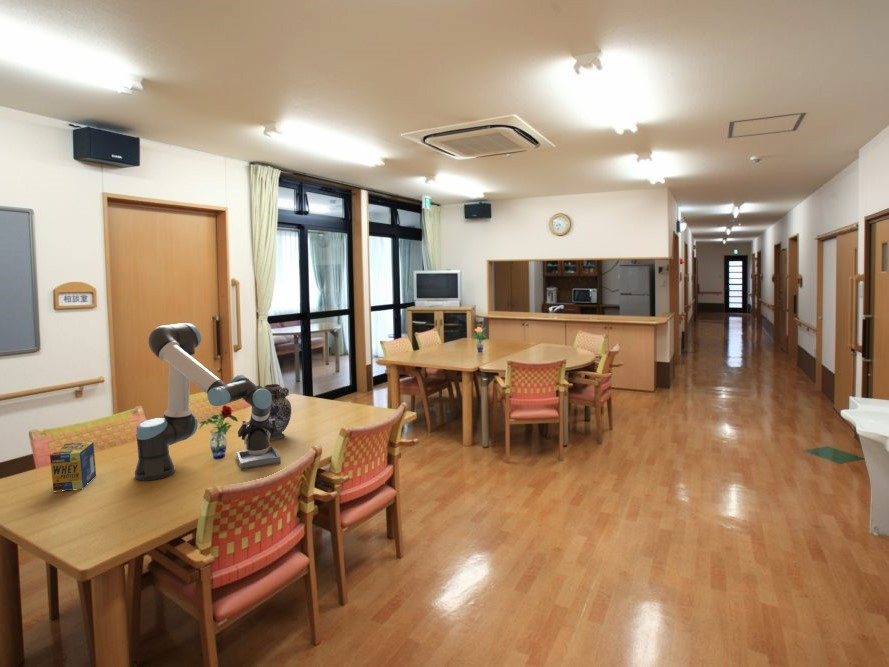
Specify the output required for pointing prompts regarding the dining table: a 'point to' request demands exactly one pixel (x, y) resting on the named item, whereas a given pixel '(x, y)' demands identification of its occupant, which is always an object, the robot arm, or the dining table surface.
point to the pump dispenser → (257, 442)
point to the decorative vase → (278, 409)
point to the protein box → (73, 466)
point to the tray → (258, 459)
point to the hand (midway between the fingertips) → (256, 440)
